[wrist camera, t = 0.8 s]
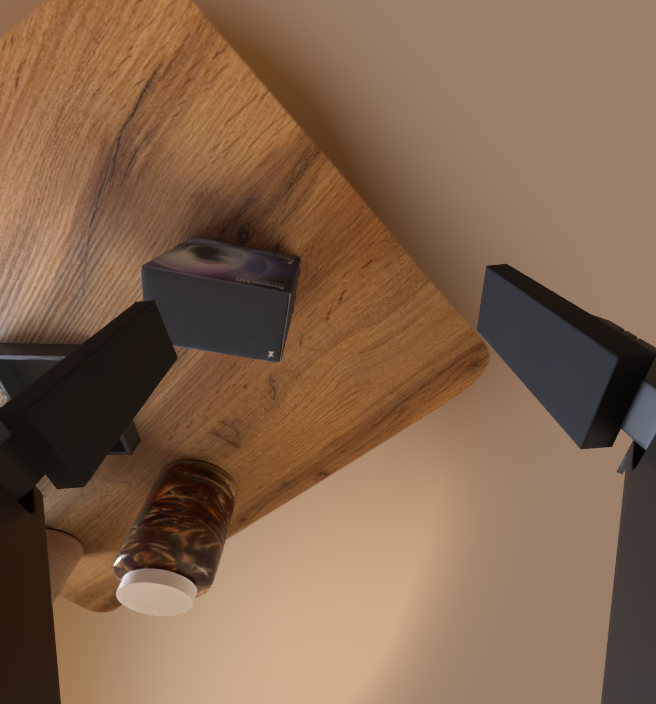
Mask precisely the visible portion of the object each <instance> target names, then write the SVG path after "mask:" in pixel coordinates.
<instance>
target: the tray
mask: <svg viewBox="0 0 656 704" xmlns="http://www.w3.org/2000/svg"><path fill="white" fill-rule="evenodd" d="M80 345H82V344H22V343H0V389H1V391H2V392H3V394H4V396H5V397H6V399H7V401H8V402H9V401H10V400H11V399H12V398H14V397H15V396H16V395H17V394H19V393H20V392H21V391H23V390H24V389H25V388H26V387H28V386H29V385H30V384H32V383H33V382H34V381H35V380H37V379H38V378H39V377H41V376H42V375H43V374H44V373H46V372H47V371H48V370H50V369H51V368H52V367H53V366H55V365H56V364H57V363H59V362H60V361H61V360H62V359H64V358H65V357H66V356H67V355H69V354H70V353H71V352H73V351H74V350H75V349H76V348H78V347H79V346H80ZM140 441H141V440H140V437H139V435H138V432H137V430H136V427H135V424H134V422H133V420H132V422H131V423H130V424H129V426H128V427H127V428H126V430H125V431H124V433H123V434H122V435H121V437H120V438H119V440H118V441H117V442H116V444H115V445H114V446H113V448H112V449H111V451H110V452H109V453H108V455H132V454H133V452H134V451H135V449H136V448H137V446H138V444H139V443H140Z"/></svg>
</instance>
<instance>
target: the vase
mask: <svg viewBox="0 0 656 704" xmlns="http://www.w3.org/2000/svg"><path fill="white" fill-rule="evenodd" d="M46 538H47V550H48V561H49V573H50V585H51V596H52V604H53V603H54V601H55V599H56V597H57V596H58V595H59V593H60V591H61V590H62V588H63V586H64V585H65V583H66V581H67V580H68V578H69V576H70V575H71V573H72V571H73V570H74V568H75V566H76V565H77V563H78V561H79V560H80V558H81V556H82V554H83V552H84V548H83V545H82V544H81V542H80V541H79V540H77V539H76V538H75V537H73V536H71V535H69V534H67V533H64V532H62V531H58V530H54V529H46Z"/></svg>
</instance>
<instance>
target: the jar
mask: <svg viewBox="0 0 656 704" xmlns="http://www.w3.org/2000/svg"><path fill="white" fill-rule="evenodd" d="M236 497H237V486H236V483H235V481H234V480H233V479H232V477H231V476H230V475H229V474H228V473H226V472H225V471H224V470H222V469H220V468H219V467H217V466H214V465H212V464H209V463H206V462H202V461H196V460H181V461H176V462H173V463H170V464H168V465H167V466H165V467H164V468H163V469H162V470H161V471H160V473H159V475H158V476H157V478H156V480H155V482H154V484H153V486H152V488H151V489H150V491H149V493H148V495H147V497H146V499H145V501H144V503H143V505H142V507H141V509H140V511H139V513H138V515H137V516H136V518H135V520H134V522H133V524H132V526H131V528H130V530H129V532H128V534H127V536H126V538H125V540H124V542H123V544H122V546H121V549H120V551H119V553H118V555H117V557H116V560H115V563H114V575H115V577H116V578H117V579H118V581H119V582H120V585H119V587H118V589H117V591H116V597H117V599H118V601H119V602H120V603H121V604H123V605H124V606H125V607H127V608H129V609H131V610H134V611H136V612H139V613H143V614H147V615H152V616H164V617H167V616H177V615H181V614H184V613H186V612H188V611H189V610H190V609H191V608H192V606H193V603H194V599H195V598H196V597H199V596H201V595H203V594H205V593H206V592H207V591H208V590H209V589H210V587H211V585H212V584H213V581H214V578H215V575H216V572H217V569H218V565H219V562H220V558H221V555H222V551H223V548H224V544H225V540H226V536H227V533H228V529H229V525H230V521H231V517H232V513H233V509H234V505H235V501H236Z"/></svg>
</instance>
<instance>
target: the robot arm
mask: <svg viewBox="0 0 656 704" xmlns="http://www.w3.org/2000/svg"><path fill="white" fill-rule="evenodd" d="M477 330H478V331H479V333H480V334H481V335H482V336H483V337H484V338H485V339H486V341H487V342H488V343H489V344H490V345H491V346H492V347H493V349H494V350H495V351H496V352H497V353H498V354H499V355H500V357H501V358H502V359H503V360H504V361H505V363H506V364H507V365H508V366H509V367H510V368H511V369H512V371H513V372H514V373H515V374H516V375H517V376H518V377H519V379H520V380H521V381H522V382H523V383H524V384H525V386H526V387H527V388H528V389H529V390H530V391H531V392H532V394H533V395H534V396H535V397H536V398H537V399H538V400H539V402H540V403H541V404H542V405H543V406H544V407H545V408H546V410H547V411H548V412H549V413H550V414H551V415H552V417H553V418H554V419H555V420H556V421H557V422H558V423H559V425H560V426H561V427H562V428H563V429H564V430H565V432H566V433H567V434H568V435H569V436H570V437H571V438H572V440H573V441H574V442H575V443H576V444H577V445H578V447H579V448H580V449H589V448H602V447H612V446H613V444H614V442H615V440H616V437H617V435H618V433H619V431H620V429H622V430H624V431H625V432H626V433H627V434H628V435H629V436H630V437H631V438H632V439H633V442H632V444H631V446H630V447H629V449H628V451H627V453H626V455H625V457H624V459H623V461H622V463H621V465H620V466H619V468H618V470H617V472H618V473H621V474H623V472H624V471H625V469H626V471H625V480H624V490H623V499H622V509H621V518H620V529H619V538H618V547H617V556H616V566H615V575H614V585H613V594H612V604H611V614H610V623H609V633H608V642H607V651H606V662H605V670H604V680H603V689H602V690H603V691H602V699H601V704H656V348H655V347H654V346H652V345H650V344H648V343H647V342H645V341H643V340H642V339H637V337H636V336H635V335H633V334H631V333H630V332H628V331H624V329H623V328H621V327H619V326H618V325H616V324H614V323H613V322H611V321H609V320H606V319H603V318H600V317H597V316H594V315H591V314H589V313H588V312H586V311H584V310H583V309H581V308H579V307H578V306H576V305H574V304H573V303H571V302H569V301H568V300H566V299H564V298H563V297H561V296H559V295H558V294H556V293H554V292H553V291H551V290H549V289H548V288H546V287H544V286H542V285H541V284H539V283H538V282H536V281H534V280H533V279H531V278H529V277H528V276H526V275H524V274H523V273H521V272H519V271H518V270H516V269H514V268H513V267H511V266H509V265H508V264H500V265H491V266H486V271H485V278H484V285H483V292H482V299H481V306H480V312H479V319H478V326H477ZM177 358H178V357H177V355H176V352H175V350H174V347H173V345H172V342H171V340H170V337H169V335H168V332H167V330H166V327H165V325H164V322H163V320H162V317H161V315H160V312H159V310H158V307H157V305H156V302H155V300H150V301H140V302H135V303H134V304H133V305H132V306H130V307H129V308H128V309H126V310H125V311H124V312H123V313H121V314H120V315H119V316H117V317H116V318H115V319H114V320H112V321H111V322H110V323H109V324H107V325H106V326H105V327H103V328H102V329H101V330H100V331H98V332H97V333H96V334H94V335H93V336H92V337H91V338H89V339H88V340H87V341H85V342H84V343H83V344H82V345H80V346H79V347H78V348H76V349H75V350H74V351H73V352H71V353H70V354H69V355H67V356H66V357H65V358H64V359H62V360H61V361H60V362H59V363H57V364H56V365H55V366H53V367H52V368H51V369H50V370H48V371H47V372H46V373H44V374H43V375H42V376H41V377H39V378H38V379H37V380H35V381H34V382H33V383H32V384H30V385H29V386H28V387H26V388H25V389H24V390H23V391H21V392H20V393H19V394H17V395H16V396H15V397H14V398H12V399H11V400H10V401H9V402H7V403H6V404H5V405H3V406H2V407H1V408H0V704H61V700H60V689H59V677H58V665H57V655H56V642H55V631H54V619H53V608H52V596H51V585H50V573H49V561H48V550H47V538H46V527H45V515H44V504H43V495H42V493H41V492H40V490H39V489H38V488H37V487H36V486H35V485H36V484H37V483H38V482H39V481H40V480H41V478H42V477H43V476H44V475H46V476H47V477H48V479H49V480H50V481H51V482H52V483H53V485H54V486H55V487H56V488H57V489H65V488H78V487H84V486H85V485H86V484H87V482H88V481H89V480H90V478H91V477H92V475H93V474H94V473H95V471H96V470H97V469H98V467H99V466H100V464H101V463H102V462H103V460H104V459H105V457H106V456H107V455H108V453H109V452H110V451H111V449H112V448H113V446H114V445H115V444H116V442H117V441H118V440H119V438H120V437H121V435H122V434H123V433H124V431H125V430H126V428H127V427H128V426H129V424H130V423H131V422H132V420H133V419H134V417H135V416H136V415H137V413H138V412H139V411H140V409H141V408H142V406H143V405H144V404H145V402H146V401H147V400H148V398H149V397H150V395H151V394H152V393H153V391H154V390H155V388H156V387H157V386H158V384H159V383H160V382H161V380H162V379H163V377H164V376H165V375H166V373H167V372H168V371H169V369H170V368H171V366H172V365H173V364H174V362H175V361H176V360H177Z"/></svg>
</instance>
